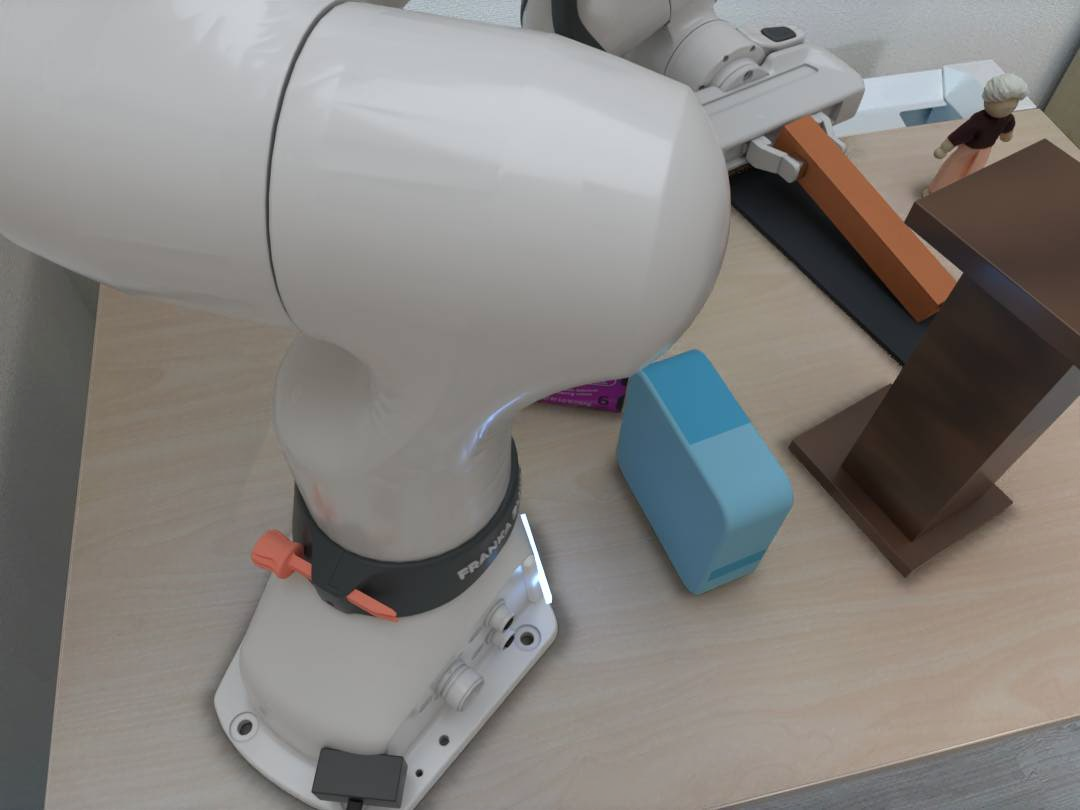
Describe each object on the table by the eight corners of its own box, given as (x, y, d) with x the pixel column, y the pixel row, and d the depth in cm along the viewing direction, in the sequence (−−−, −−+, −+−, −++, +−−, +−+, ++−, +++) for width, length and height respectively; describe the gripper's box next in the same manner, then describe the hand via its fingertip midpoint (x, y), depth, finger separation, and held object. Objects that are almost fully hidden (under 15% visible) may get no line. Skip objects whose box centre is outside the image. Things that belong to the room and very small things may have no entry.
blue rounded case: (751, 578, 56) (802, 494, 46) (693, 603, 55) (731, 522, 45) (667, 438, 62) (696, 337, 52) (613, 458, 61) (631, 359, 51)
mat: (712, 186, 78) (713, 182, 78) (793, 151, 81) (795, 147, 81) (916, 380, 66) (919, 376, 66) (1003, 330, 69) (1006, 326, 69)
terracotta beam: (770, 149, 74) (783, 125, 72) (795, 138, 75) (809, 114, 73) (917, 323, 69) (938, 304, 66) (942, 309, 70) (964, 289, 67)
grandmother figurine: (934, 223, 76) (1000, 103, 66) (903, 198, 78) (964, 77, 67) (992, 195, 78) (1066, 74, 68) (962, 171, 80) (1029, 50, 70)
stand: (787, 447, 62) (914, 200, 42) (885, 391, 65) (1045, 137, 45) (905, 578, 57) (1114, 363, 37) (1005, 510, 60) (1248, 278, 40)
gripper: (633, 85, 73) (733, 177, 66) (809, 19, 79) (916, 97, 73) (625, 144, 78) (718, 235, 72) (791, 78, 84) (890, 156, 78)
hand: (819, 165), depth 72 cm, fingers closed on terracotta beam, 3 cm apart
